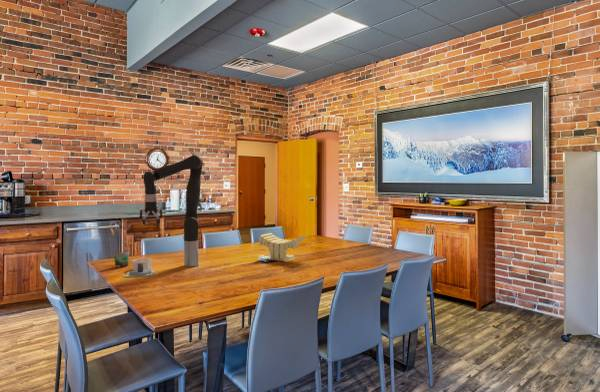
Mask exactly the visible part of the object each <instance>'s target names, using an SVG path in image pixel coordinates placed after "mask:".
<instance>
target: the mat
mask: <svg viewBox="0 0 600 392" xmlns="http://www.w3.org/2000/svg"><path fill="white" fill-rule="evenodd" d="M150 270H151V273H150V274H147V275H142V276H132V275H130V272H131V271H132V270H131V271H127V273H126V274H125V275H124V278H135V277H136V278H139V277H140V278H141V277H153V276H154V274H155V273H156V270H155V269H150Z"/></svg>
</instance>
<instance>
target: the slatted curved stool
mask: <svg viewBox="0 0 600 392" xmlns="http://www.w3.org/2000/svg"><path fill="white" fill-rule="evenodd" d="M305 240H306V235H303V236H300V237H296V238H293V239H291V240H290V239H283V238H281V237H279V236H276V235H275V234H273V233H272V232H268V233H263V234H261V235H260V236H259V238H258V246H265V247H267V248H268V251H269V259H270V260H271V261H278V262H285V263H287V262H290V261H292V260H295V259H296V257H295V255H292V254H291V255H290V254H287V251H288V249H293V250H297V249H298V248H299V247H298V246H299V244H300V243H301V242H302V241H305Z"/></svg>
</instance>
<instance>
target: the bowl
mask: <svg viewBox="0 0 600 392" xmlns="http://www.w3.org/2000/svg"><path fill="white" fill-rule="evenodd" d="M138 263H143V269H149V270H152V259H151V258H147V257H143V258H135V259H133V260H132V271H134V270H138Z"/></svg>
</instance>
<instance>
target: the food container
mask: <svg viewBox="0 0 600 392" xmlns="http://www.w3.org/2000/svg"><path fill="white" fill-rule="evenodd" d="M130 255H131V251H130V250H127V249H125V250H124V251H121V252H120V251H119V252H118V253H117V252H115V253H113V257H114V266H115V269H120V268H121V269H122V268H126V267H128V266H129V260H130V259H129V258H130Z"/></svg>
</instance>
